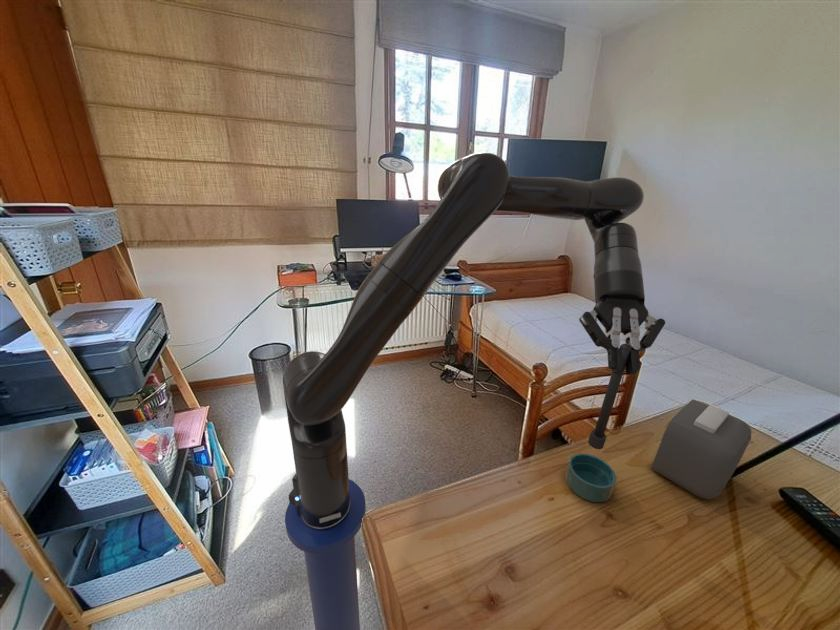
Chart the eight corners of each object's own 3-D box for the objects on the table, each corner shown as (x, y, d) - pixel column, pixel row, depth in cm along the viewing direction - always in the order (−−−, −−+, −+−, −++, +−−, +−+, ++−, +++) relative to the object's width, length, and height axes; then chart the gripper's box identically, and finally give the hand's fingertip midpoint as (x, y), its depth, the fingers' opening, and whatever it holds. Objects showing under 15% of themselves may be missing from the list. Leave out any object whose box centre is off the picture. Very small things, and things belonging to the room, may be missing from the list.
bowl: (568, 498, 69) (572, 481, 68) (562, 464, 78) (566, 449, 76) (616, 509, 67) (621, 492, 66) (605, 473, 76) (609, 458, 74)
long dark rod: (593, 450, 62) (624, 348, 53) (585, 439, 64) (613, 340, 56) (606, 448, 62) (639, 347, 54) (597, 438, 65) (628, 340, 56)
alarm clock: (676, 443, 85) (697, 392, 79) (734, 473, 77) (762, 418, 71) (648, 473, 76) (670, 417, 70) (710, 511, 68) (740, 450, 62)
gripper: (584, 265, 58) (587, 362, 52) (671, 271, 56) (685, 373, 50) (571, 285, 65) (572, 372, 59) (648, 291, 63) (658, 382, 57)
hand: (624, 372), depth 55 cm, fingers closed on long dark rod
